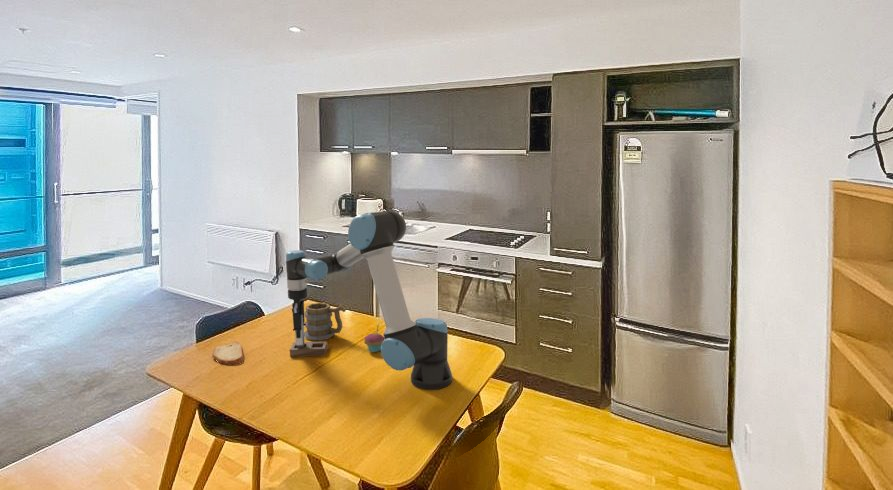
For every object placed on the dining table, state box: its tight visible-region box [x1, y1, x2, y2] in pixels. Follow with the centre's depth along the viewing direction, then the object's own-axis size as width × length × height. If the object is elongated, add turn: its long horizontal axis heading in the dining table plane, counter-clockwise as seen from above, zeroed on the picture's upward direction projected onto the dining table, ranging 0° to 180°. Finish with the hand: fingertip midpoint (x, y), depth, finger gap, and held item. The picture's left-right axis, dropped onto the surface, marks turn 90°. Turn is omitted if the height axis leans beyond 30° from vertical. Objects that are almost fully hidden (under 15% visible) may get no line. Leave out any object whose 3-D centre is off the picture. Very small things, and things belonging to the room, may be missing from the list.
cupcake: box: [363, 322, 385, 353], centre depth 209 cm, size 9×8×12 cm
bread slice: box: [212, 341, 245, 365], centre depth 205 cm, size 18×18×4 cm
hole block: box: [289, 341, 329, 358], centre depth 208 cm, size 8×14×3 cm, turn 96°
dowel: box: [296, 314, 305, 348], centre depth 206 cm, size 3×3×14 cm
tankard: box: [304, 302, 347, 342], centre depth 225 cm, size 20×13×15 cm, turn 73°
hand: (300, 342), depth 207 cm, fingers closed on dowel, 3 cm apart
